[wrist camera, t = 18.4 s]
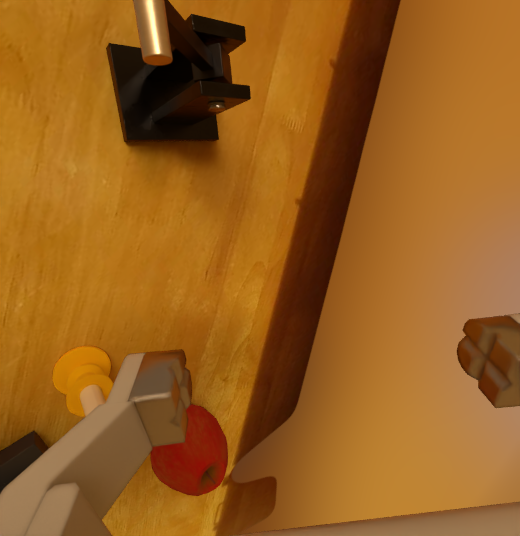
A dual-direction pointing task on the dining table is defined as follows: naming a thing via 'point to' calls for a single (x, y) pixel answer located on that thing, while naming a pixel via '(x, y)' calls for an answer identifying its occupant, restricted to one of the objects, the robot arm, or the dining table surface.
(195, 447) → the apple
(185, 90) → the bracket
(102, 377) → the candle
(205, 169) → the dining table surface
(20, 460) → the button box
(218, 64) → the lever
